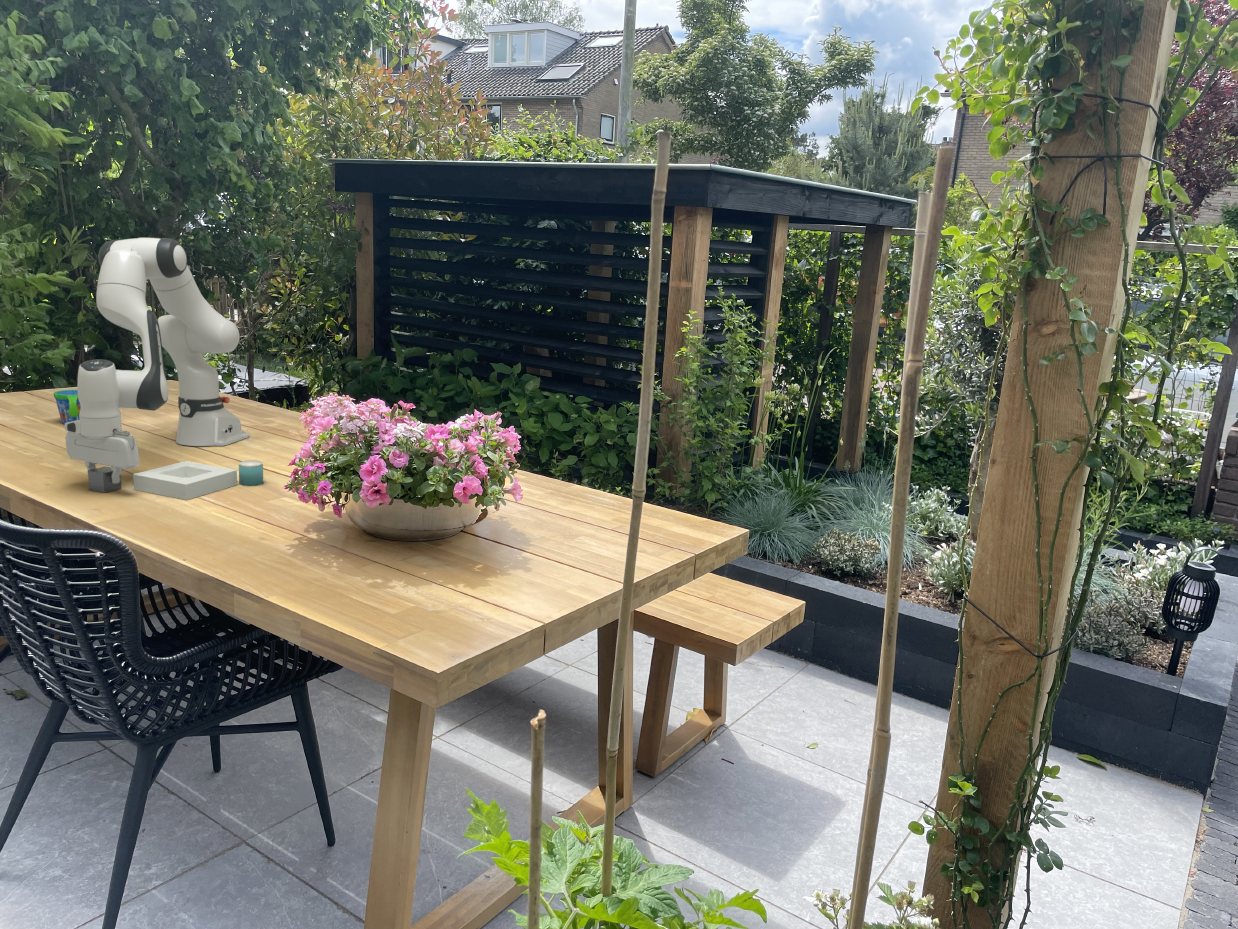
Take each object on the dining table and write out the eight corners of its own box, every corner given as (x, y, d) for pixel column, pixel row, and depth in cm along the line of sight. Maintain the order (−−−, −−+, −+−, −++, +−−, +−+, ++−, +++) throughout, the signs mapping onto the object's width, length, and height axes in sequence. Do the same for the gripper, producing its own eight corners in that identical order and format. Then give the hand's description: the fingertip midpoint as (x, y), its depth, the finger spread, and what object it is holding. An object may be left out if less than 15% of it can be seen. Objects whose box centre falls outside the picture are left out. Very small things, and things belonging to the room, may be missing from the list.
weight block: (106, 485, 225) (105, 466, 224) (121, 488, 224) (120, 469, 223) (89, 489, 221) (87, 470, 220) (104, 492, 219) (103, 473, 218)
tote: (186, 475, 239) (186, 460, 238) (237, 484, 234) (236, 470, 233) (133, 489, 224) (132, 474, 223) (186, 500, 218) (186, 484, 217)
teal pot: (250, 479, 241) (249, 458, 239) (268, 482, 239) (267, 462, 237) (234, 483, 235) (233, 463, 234) (252, 487, 233) (251, 466, 232)
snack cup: (60, 418, 293) (57, 387, 291) (96, 417, 298) (94, 387, 295) (52, 428, 280) (49, 396, 277) (90, 427, 284) (88, 396, 281)
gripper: (144, 430, 218) (147, 484, 221) (81, 419, 224) (85, 472, 228) (122, 434, 212) (126, 490, 216) (59, 423, 219) (63, 477, 222)
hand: (104, 480), depth 222 cm, fingers closed on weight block, 5 cm apart
